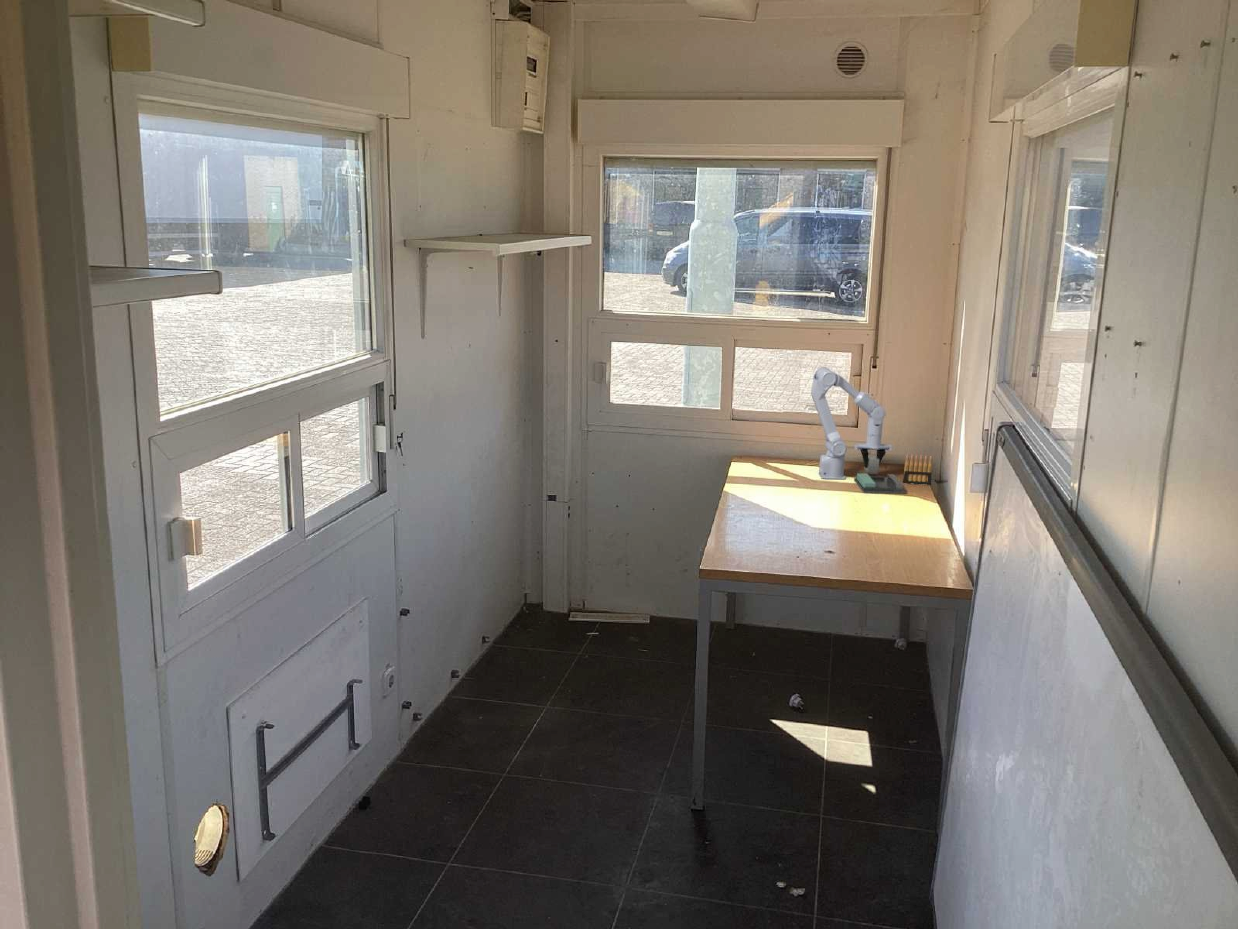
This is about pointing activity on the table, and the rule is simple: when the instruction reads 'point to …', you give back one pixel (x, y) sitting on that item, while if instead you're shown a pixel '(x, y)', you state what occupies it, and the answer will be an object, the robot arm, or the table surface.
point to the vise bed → (884, 485)
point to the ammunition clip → (917, 470)
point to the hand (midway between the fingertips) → (871, 467)
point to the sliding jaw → (865, 480)
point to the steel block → (872, 464)
